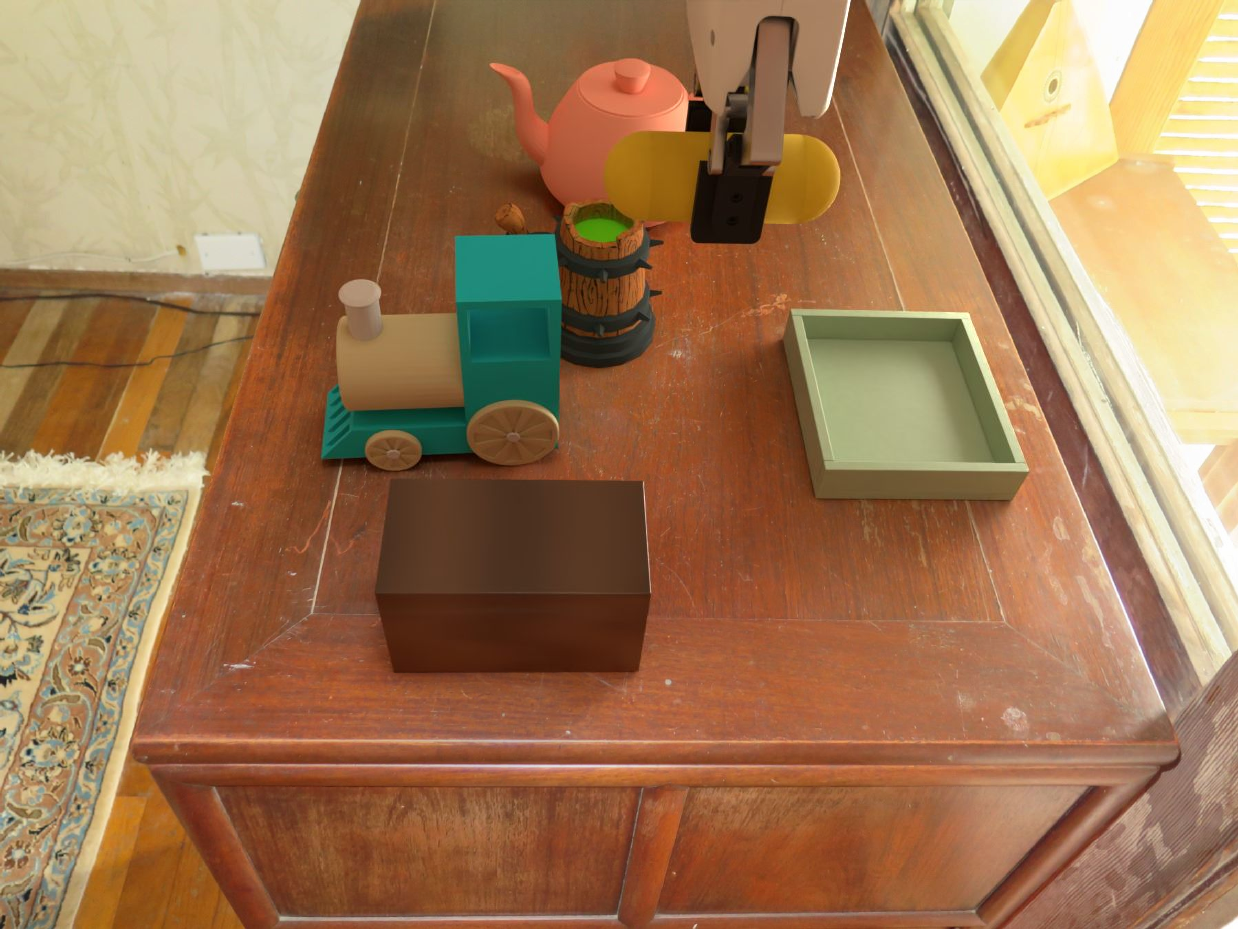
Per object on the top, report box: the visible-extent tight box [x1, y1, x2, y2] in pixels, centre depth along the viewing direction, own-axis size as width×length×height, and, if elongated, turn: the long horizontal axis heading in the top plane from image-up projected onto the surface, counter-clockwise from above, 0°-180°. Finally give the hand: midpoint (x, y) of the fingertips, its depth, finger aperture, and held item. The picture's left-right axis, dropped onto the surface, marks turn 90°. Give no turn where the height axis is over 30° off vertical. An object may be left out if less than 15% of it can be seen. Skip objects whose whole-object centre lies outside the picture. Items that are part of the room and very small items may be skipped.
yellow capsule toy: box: [603, 131, 841, 225], centre depth 46 cm, size 11×4×4 cm, turn 93°
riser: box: [374, 477, 652, 673], centre depth 60 cm, size 15×8×9 cm, turn 92°
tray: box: [782, 308, 1030, 501], centre depth 75 cm, size 17×15×3 cm
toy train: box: [320, 233, 562, 472], centre depth 67 cm, size 8×17×15 cm, turn 96°
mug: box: [493, 198, 665, 369], centre depth 76 cm, size 13×10×12 cm
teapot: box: [489, 57, 703, 229], centre depth 88 cm, size 22×16×12 cm
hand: (718, 204), depth 47 cm, fingers closed on yellow capsule toy, 4 cm apart
